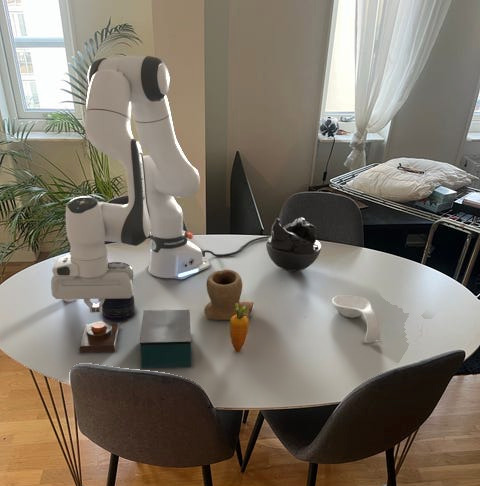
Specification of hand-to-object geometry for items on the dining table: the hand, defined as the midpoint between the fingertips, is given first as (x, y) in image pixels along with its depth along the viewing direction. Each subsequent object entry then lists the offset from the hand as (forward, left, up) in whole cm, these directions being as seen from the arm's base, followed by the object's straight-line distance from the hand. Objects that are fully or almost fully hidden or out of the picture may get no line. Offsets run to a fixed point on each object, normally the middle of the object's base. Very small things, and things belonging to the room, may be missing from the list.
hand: (96, 311), depth 124 cm
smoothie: (-3, -27, -10) cm, 29 cm away
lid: (-12, +15, -2) cm, 20 cm away
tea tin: (-12, +15, -10) cm, 22 cm away
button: (0, 0, -6) cm, 6 cm away
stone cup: (-37, +11, -10) cm, 40 cm away
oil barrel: (-11, -10, -10) cm, 18 cm away
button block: (0, 0, -10) cm, 10 cm away
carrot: (-27, +27, -10) cm, 39 cm away
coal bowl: (-78, -2, -10) cm, 79 cm away
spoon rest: (-67, +37, -10) cm, 77 cm away
